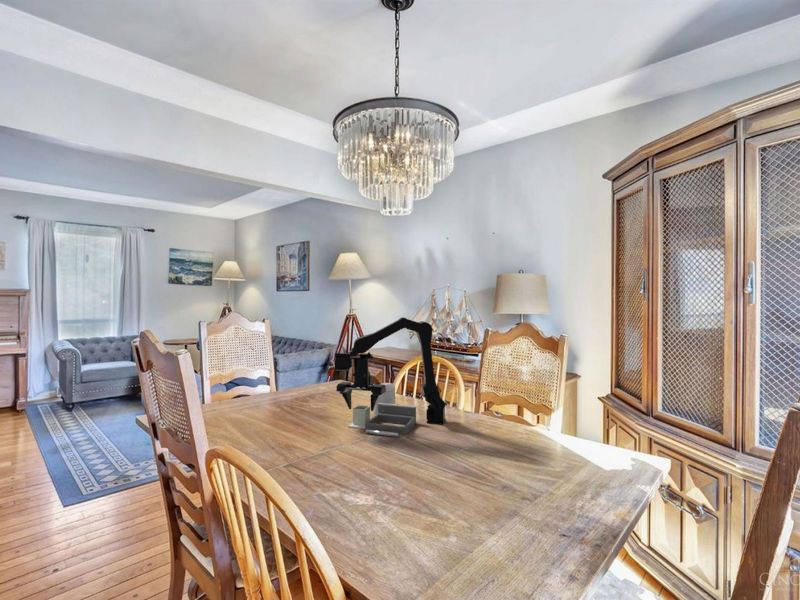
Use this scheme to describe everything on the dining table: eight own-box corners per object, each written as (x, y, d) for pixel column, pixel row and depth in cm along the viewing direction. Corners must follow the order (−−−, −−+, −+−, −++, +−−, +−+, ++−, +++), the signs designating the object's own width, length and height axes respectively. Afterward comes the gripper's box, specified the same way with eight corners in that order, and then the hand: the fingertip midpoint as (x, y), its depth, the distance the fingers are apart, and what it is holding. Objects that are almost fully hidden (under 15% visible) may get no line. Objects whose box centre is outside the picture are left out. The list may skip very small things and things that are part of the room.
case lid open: (416, 422, 160) (416, 406, 160) (415, 424, 159) (415, 407, 159) (378, 419, 165) (378, 402, 165) (376, 420, 164) (376, 403, 164)
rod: (398, 436, 145) (398, 432, 145) (397, 437, 144) (397, 433, 144) (367, 432, 149) (367, 428, 149) (365, 434, 147) (365, 430, 147)
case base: (414, 424, 159) (414, 416, 159) (405, 434, 147) (405, 426, 147) (377, 420, 164) (377, 413, 164) (365, 430, 152) (365, 422, 152)
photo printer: (389, 408, 180) (389, 380, 180) (396, 410, 177) (396, 382, 177) (371, 413, 173) (372, 384, 173) (378, 415, 170) (378, 386, 170)
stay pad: (374, 421, 163) (374, 420, 163) (364, 428, 153) (364, 427, 153) (358, 419, 165) (358, 418, 165) (347, 426, 155) (347, 425, 155)
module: (370, 421, 160) (370, 405, 160) (365, 425, 156) (365, 409, 156) (358, 420, 162) (358, 404, 162) (353, 424, 157) (353, 408, 157)
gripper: (390, 367, 164) (390, 406, 164) (348, 365, 169) (348, 403, 169) (380, 372, 153) (380, 414, 153) (335, 370, 159) (335, 410, 159)
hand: (361, 410), depth 159 cm, fingers open, 9 cm apart
